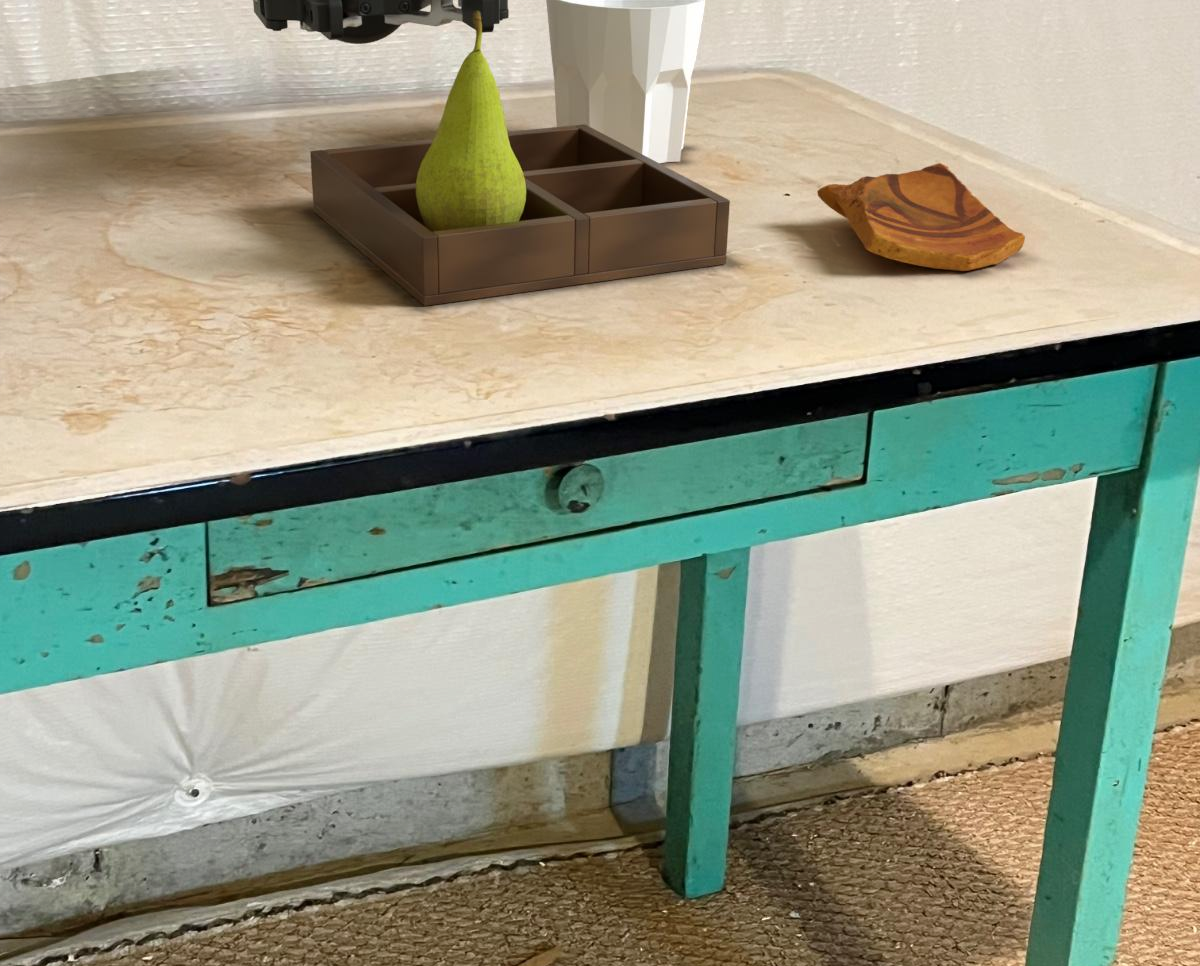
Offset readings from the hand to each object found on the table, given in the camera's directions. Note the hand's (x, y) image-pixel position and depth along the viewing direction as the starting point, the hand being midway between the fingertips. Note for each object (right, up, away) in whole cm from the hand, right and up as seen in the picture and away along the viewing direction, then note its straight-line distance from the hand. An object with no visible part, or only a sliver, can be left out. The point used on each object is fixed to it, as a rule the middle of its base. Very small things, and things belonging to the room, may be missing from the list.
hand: (413, 16), depth 92 cm
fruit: (+3, -14, -3) cm, 14 cm away
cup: (+12, -3, +19) cm, 22 cm away
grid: (+5, -12, +2) cm, 13 cm away
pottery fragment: (+28, -12, +3) cm, 30 cm away
